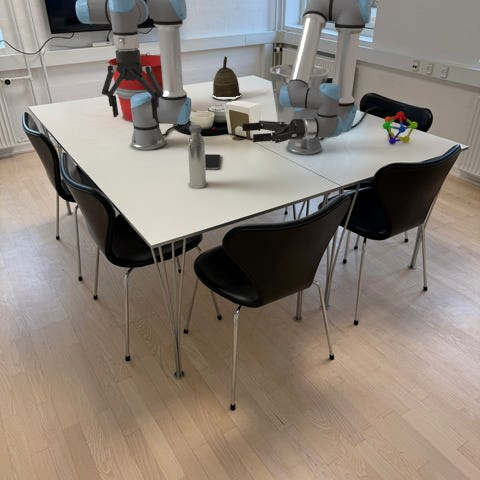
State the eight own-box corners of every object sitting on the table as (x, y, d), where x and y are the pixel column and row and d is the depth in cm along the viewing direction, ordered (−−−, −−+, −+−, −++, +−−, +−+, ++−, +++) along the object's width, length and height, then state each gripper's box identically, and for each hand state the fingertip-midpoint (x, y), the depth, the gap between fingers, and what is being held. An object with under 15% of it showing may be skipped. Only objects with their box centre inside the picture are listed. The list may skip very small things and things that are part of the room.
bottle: (205, 188, 167) (202, 130, 155) (189, 187, 167) (185, 130, 156) (207, 181, 172) (204, 125, 161) (191, 181, 173) (188, 124, 161)
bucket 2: (296, 138, 215) (301, 78, 201) (255, 124, 234) (256, 68, 219) (335, 125, 232) (342, 70, 217) (294, 113, 251) (297, 61, 236)
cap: (200, 133, 157) (200, 128, 156) (188, 132, 157) (188, 128, 156) (202, 129, 160) (202, 124, 160) (190, 129, 161) (190, 124, 160)
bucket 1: (122, 106, 262) (115, 52, 246) (181, 107, 261) (178, 52, 245) (105, 124, 232) (96, 64, 216) (172, 125, 231) (167, 64, 216)
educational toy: (377, 146, 209) (379, 114, 202) (384, 138, 219) (386, 107, 211) (411, 149, 202) (415, 116, 195) (417, 141, 212) (420, 109, 204)
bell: (227, 105, 294) (202, 96, 282) (238, 66, 289) (213, 55, 277) (243, 108, 280) (217, 98, 268) (255, 66, 275) (229, 55, 263)
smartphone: (201, 167, 182) (204, 154, 195) (201, 169, 182) (204, 155, 195) (218, 167, 182) (220, 154, 195) (218, 169, 182) (220, 155, 195)
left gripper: (84, 50, 136) (95, 118, 148) (163, 52, 134) (168, 121, 145) (93, 46, 143) (104, 112, 154) (169, 48, 140) (174, 114, 152)
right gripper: (314, 149, 157) (257, 153, 152) (289, 129, 178) (238, 132, 173) (316, 128, 154) (258, 132, 148) (290, 110, 174) (238, 113, 169)
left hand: (135, 116), depth 150 cm, fingers open, 13 cm apart
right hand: (247, 132), depth 161 cm, fingers open, 13 cm apart
